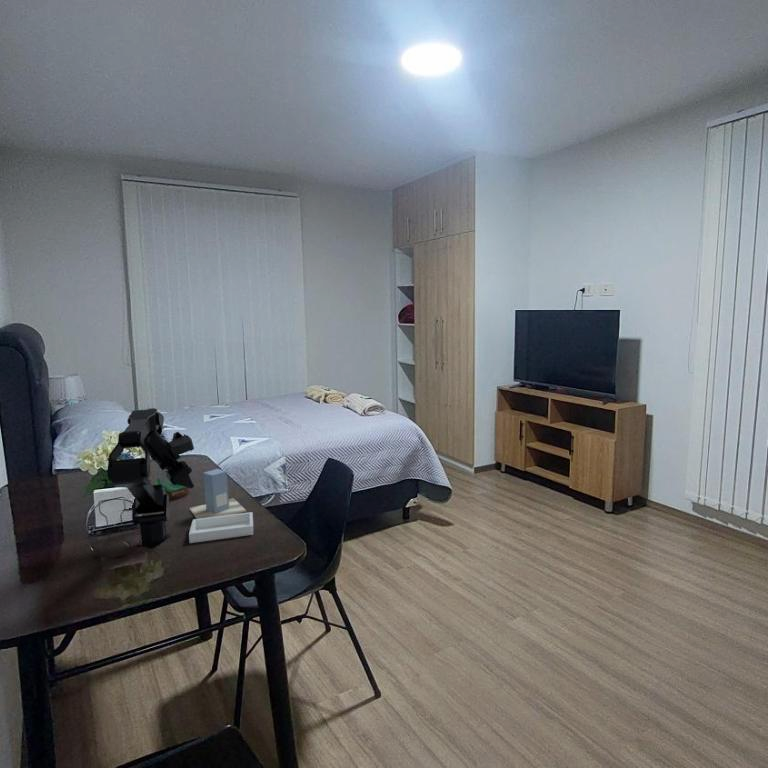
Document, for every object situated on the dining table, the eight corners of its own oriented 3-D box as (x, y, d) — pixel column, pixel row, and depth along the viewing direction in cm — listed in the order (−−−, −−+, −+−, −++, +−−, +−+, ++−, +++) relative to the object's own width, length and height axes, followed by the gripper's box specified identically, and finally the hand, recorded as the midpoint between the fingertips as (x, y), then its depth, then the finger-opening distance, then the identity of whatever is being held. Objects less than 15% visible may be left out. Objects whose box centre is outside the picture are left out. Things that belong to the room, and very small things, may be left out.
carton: (215, 513, 159) (212, 475, 157) (206, 509, 162) (203, 472, 161) (229, 508, 163) (226, 471, 161) (220, 505, 166) (217, 468, 164)
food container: (167, 504, 172) (164, 474, 170) (157, 500, 175) (154, 471, 174) (200, 493, 181) (197, 465, 180) (189, 490, 185) (187, 462, 184)
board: (246, 513, 160) (246, 510, 160) (200, 525, 153) (199, 521, 153) (233, 501, 172) (233, 498, 172) (189, 510, 165) (189, 507, 165)
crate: (189, 544, 140) (188, 534, 140) (193, 529, 150) (193, 519, 150) (253, 536, 144) (252, 525, 143) (253, 521, 154) (252, 512, 154)
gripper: (191, 439, 144) (221, 475, 153) (169, 417, 157) (198, 451, 166) (156, 466, 140) (189, 501, 149) (137, 441, 153) (168, 475, 162)
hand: (187, 480), depth 157 cm, fingers open, 9 cm apart
